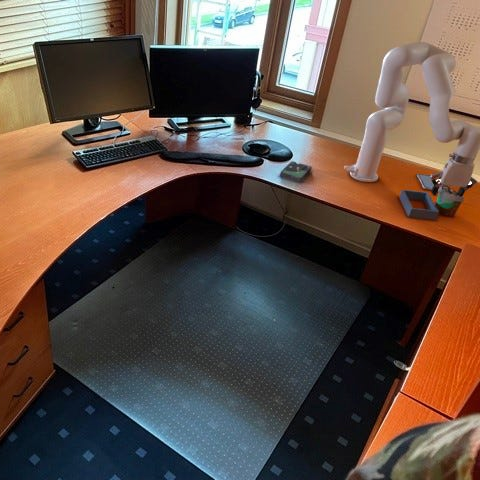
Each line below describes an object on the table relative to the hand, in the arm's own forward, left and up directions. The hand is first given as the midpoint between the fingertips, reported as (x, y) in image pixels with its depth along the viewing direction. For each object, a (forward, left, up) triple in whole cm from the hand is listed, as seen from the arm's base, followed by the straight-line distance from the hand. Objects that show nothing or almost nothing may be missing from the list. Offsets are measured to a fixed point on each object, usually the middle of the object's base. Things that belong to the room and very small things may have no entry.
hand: (445, 195), depth 194 cm
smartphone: (+2, +26, -7) cm, 27 cm away
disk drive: (-59, +20, -7) cm, 62 cm away
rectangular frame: (-9, 0, -7) cm, 12 cm away
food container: (0, 0, -7) cm, 7 cm away
